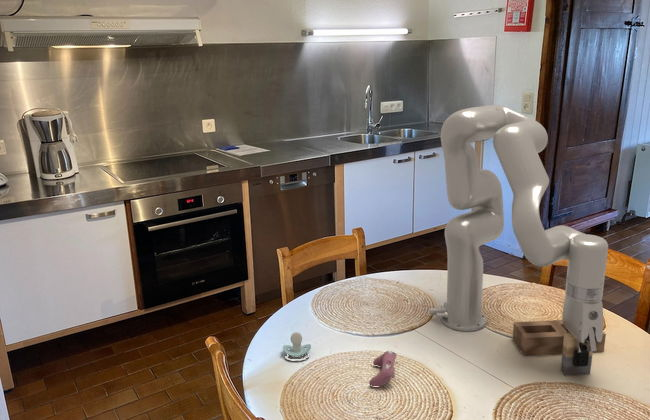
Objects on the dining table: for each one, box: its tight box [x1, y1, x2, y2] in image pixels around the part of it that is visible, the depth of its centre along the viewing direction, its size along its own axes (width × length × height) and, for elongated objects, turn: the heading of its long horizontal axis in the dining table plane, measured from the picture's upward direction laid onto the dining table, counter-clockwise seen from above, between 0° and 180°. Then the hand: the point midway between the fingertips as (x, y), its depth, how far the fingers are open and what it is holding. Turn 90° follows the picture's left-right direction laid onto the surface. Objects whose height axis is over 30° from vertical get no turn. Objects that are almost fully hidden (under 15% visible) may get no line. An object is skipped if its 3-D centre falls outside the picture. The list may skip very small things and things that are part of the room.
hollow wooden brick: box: [512, 319, 607, 357], centre depth 134 cm, size 20×8×5 cm, turn 91°
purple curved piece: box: [368, 350, 398, 387], centre depth 124 cm, size 10×5×7 cm, turn 169°
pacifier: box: [282, 331, 312, 359], centre depth 135 cm, size 7×6×6 cm
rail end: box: [560, 333, 594, 377], centre depth 122 cm, size 6×2×10 cm, turn 91°
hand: (576, 360), depth 122 cm, fingers open, 2 cm apart
